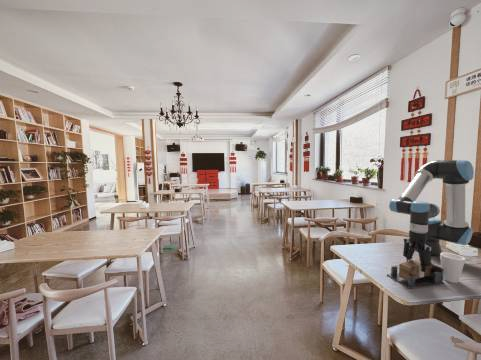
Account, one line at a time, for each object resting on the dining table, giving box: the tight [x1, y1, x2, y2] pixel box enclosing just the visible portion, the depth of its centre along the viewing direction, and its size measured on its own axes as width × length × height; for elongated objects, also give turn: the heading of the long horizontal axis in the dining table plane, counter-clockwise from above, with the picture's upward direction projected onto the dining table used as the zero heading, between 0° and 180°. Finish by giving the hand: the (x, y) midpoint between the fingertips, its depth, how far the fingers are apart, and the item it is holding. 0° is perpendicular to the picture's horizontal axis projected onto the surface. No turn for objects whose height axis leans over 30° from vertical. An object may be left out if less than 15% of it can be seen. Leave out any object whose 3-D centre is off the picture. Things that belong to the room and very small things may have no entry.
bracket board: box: [386, 263, 446, 290], centre depth 118 cm, size 22×13×8 cm, turn 102°
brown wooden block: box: [398, 258, 433, 281], centre depth 118 cm, size 18×5×7 cm, turn 111°
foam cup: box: [439, 252, 466, 284], centre depth 118 cm, size 10×9×13 cm
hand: (415, 273), depth 118 cm, fingers closed on brown wooden block, 5 cm apart
